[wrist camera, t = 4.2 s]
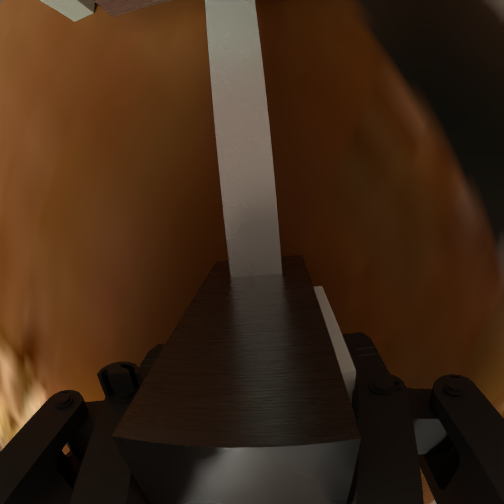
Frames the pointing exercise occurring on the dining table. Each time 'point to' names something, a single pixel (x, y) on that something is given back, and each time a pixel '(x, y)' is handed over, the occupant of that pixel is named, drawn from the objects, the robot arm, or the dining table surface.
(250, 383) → the scraper
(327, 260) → the dining table surface
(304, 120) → the dining table surface
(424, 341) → the dining table surface
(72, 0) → the cabinet
